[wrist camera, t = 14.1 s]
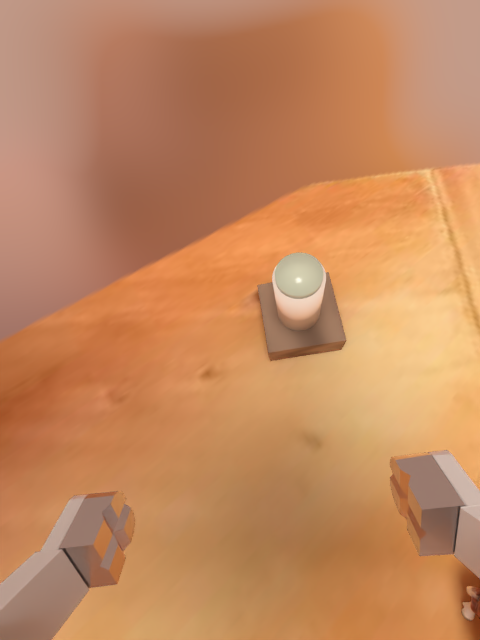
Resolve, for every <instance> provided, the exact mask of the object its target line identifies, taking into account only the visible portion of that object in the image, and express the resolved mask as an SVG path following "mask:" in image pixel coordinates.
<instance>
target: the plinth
mask: <svg viewBox="0 0 480 640" xmlns="http://www.w3.org/2000/svg"><path fill="white" fill-rule="evenodd" d="M258 292H259V298H260V304H261V310H262V316H263V322H264V329H265V335H266V341H267V347H268V353H269V357H270V361H272V360H278V359H284V358H291V357H297V356H303V355H310V354H316V353H322V352H329V351H335V350H341V349H342V347H343V345H344V343H345V342H346V338H345V334H344V330H343V326H342V322H341V318H340V315H339V311H338V307H337V303H336V299H335V295H334V292H333V288H332V284H331V280H330V276H329V272H327V273H326V283H325V288H324V294H323V299H322V304H321V310H320V315H319V319H318V321H317V322H316V324H315V325H314V326H313V327H311V328H310V329H308V330H305V331H293V330H290V329H288V328H286V327H285V326H284V325H283V324H282V323H281V322H280V320H279V317H278V312H277V306H276V300H275V294H274V288H273V282H272V283H267V284H261V285H258Z"/></svg>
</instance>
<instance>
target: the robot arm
mask: <svg viewBox="0 0 480 640" xmlns="http://www.w3.org/2000/svg"><path fill="white" fill-rule="evenodd" d="M390 467H391V470H392V472H393V475H392V476H391V477H390V486H391V490H392V495H393V498H394V501H395V504H396V506H397V508H398V511H399V513H400V514H401V515H402V516H404V517H405V518H406V519H407V530H408V533H409V535H410V537H411V539H412V541H413V543H414V545H415V547H416V550H417V552H418V554H419V556H429V555H445V554H454V556H455V557H456V558H457V559H458V560H459V561H461V562H462V563H463V564H464V565H465V566H466V567H467V568H468V569H469V570H470V571H472V572H473V573H474V574H475V575H476V576H477V577H478V578H479V579H480V491H479V489H478V488H477V487H476V485H475V484H474V483H473V481H472V480H471V479H470V477H469V476H468V475H467V473H466V472H465V471H464V469H463V468H462V467H461V466H460V464H459V463H458V462H457V460H456V459H455V458H454V456H453V455H452V454H451V453H450V452H449V451H447V450H443V451H435V452H428V453H426V452H424V453H417V454H409V455H402V456H395V457H391V459H390ZM125 500H126V497H125V495H124V493H123V492H122V491H116V492H105V493H95V494H85V495H76V496H73V497H72V498H71V499H70V500H69V501H68V503H67V505H66V506H65V508H64V510H63V512H62V513H61V515H60V517H59V519H58V521H57V522H56V524H55V526H54V528H53V529H52V531H51V533H50V535H49V537H48V538H47V540H46V542H45V544H44V545H43V547H42V549H41V551H40V552H35V553H34V554H33V555H32V556H31V557H29V558H28V559H27V560H26V561H25V562H24V563H23V564H22V565H21V566H20V567H18V568H17V569H16V570H15V571H14V572H13V573H12V574H11V575H10V576H9V577H7V578H6V579H5V580H4V581H3V582H2V583H1V584H0V640H52V639H53V637H54V636H55V635H56V633H57V632H58V631H59V629H60V628H61V627H62V625H63V624H64V623H65V621H66V620H67V619H68V617H69V616H70V615H71V613H72V612H73V611H74V609H75V608H76V607H77V605H78V604H79V603H80V601H81V600H82V599H83V597H84V596H85V595H86V594H87V592H88V591H89V588H91V587H99V586H107V585H115V584H117V583H118V580H119V577H120V574H121V571H122V568H123V565H124V562H125V559H126V558H125V554H124V549H125V548H126V547H127V546H128V545H129V544H130V543H131V540H132V537H133V533H134V526H135V519H134V513H133V511H132V509H131V508H130V507H129V506H127V505H125V504H124V503H125Z"/></svg>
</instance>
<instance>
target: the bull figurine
mask: <svg viewBox="0 0 480 640" xmlns="http://www.w3.org/2000/svg"><path fill="white" fill-rule="evenodd" d="M466 591H467V593H468V594H469V595H470V596H471V602H462V604H463V606H464V608H462V615H463V616H464V618H465V619H467V620H469V621H472V620H473V619H474V617H475V614H476V615H478V616H479V618H480V600H479V598H480V588H476V587H473V586H467V589H466Z"/></svg>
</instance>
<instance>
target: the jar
mask: <svg viewBox="0 0 480 640" xmlns="http://www.w3.org/2000/svg"><path fill="white" fill-rule="evenodd" d="M272 282H273V288H274V294H275V300H276V306H277V312H278V317H279V320H280V322H281V323H282V324H283V325H284V326H285V327H286V328H288V329H290V330H293V331H305V330H308V329H310V328H311V327H313V326H314V325H315V324H316V322H317V321H318V319H319V315H320V310H321V304H322V299H323V294H324V288H325V283H326V273H325V270H324V267H323V266H322V264H321V263H320V262H319V261H318V260H317V259H316V258H315V257H314V256H312V255H309V254H306V253H293V254H290V255H288V256H286V257H284V258H283V259H282V260H281V261H280V262H279V263H278V265H277V266H276V267H275V269H274V272H273V276H272Z"/></svg>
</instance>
